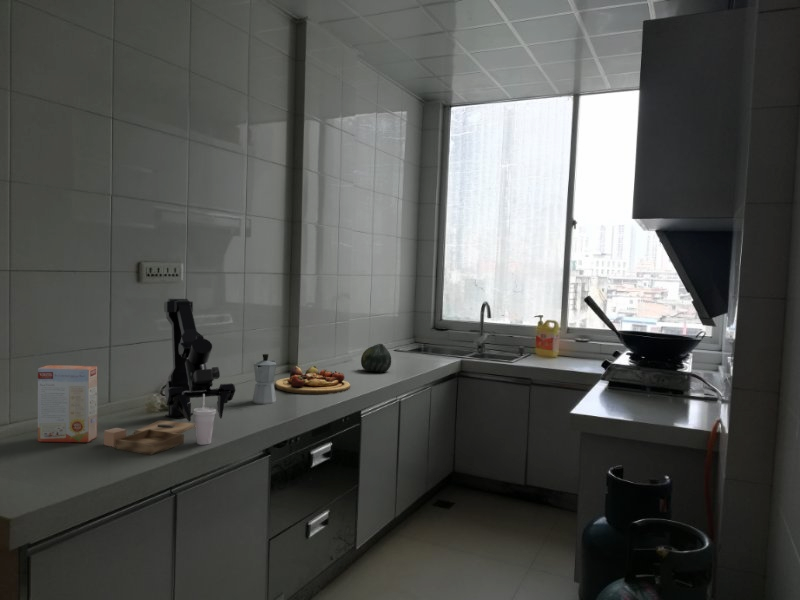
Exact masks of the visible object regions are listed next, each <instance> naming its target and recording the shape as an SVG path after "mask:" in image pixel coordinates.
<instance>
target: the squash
mask: <svg viewBox="0 0 800 600" xmlns="http://www.w3.org/2000/svg"><path fill="white" fill-rule="evenodd" d="M360 358H361V359H360V363H361V367H362V369H363V370H365V371H367V372H378V373H380V372H382V373H385V372H384V371H386V372H387V371H388V370H389V369H390V368H391V366H392V356H391V353H390V351H389V350H388V349H387V348H386V346H385V345H384V344H383V343H377V344H374V345H372V346H370V347H368V348H366V349H364V352H362V355H361V357H360Z"/></svg>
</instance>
